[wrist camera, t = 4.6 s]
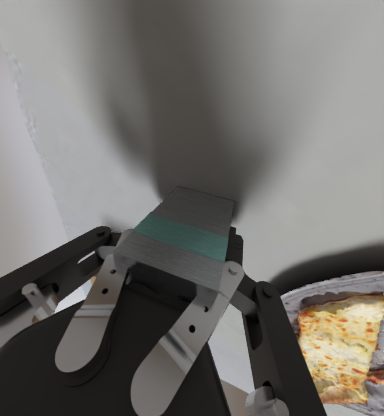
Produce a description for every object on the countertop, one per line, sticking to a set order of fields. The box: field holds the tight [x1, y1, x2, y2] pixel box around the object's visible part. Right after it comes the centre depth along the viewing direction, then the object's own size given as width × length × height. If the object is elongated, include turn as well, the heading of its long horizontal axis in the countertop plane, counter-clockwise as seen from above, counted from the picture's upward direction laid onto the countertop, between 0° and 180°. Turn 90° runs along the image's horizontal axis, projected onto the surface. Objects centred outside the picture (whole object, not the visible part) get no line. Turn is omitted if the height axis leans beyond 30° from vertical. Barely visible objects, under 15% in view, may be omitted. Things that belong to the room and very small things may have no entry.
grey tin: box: [112, 186, 234, 304], centre depth 11 cm, size 5×5×8 cm
